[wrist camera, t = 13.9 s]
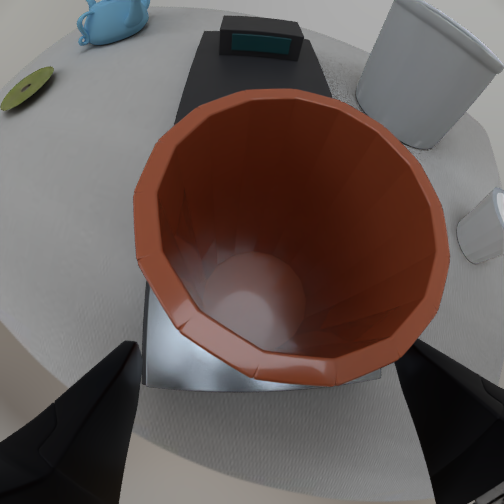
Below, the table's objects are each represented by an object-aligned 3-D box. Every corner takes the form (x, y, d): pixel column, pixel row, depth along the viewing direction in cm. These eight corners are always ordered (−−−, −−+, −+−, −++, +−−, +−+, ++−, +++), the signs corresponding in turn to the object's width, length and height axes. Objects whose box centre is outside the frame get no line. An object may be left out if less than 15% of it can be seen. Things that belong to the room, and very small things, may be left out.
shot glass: (451, 253, 23) (496, 226, 16) (453, 205, 25) (489, 174, 19) (486, 278, 22) (528, 258, 16) (486, 231, 25) (521, 207, 18)
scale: (365, 375, 18) (415, 378, 12) (151, 380, 17) (118, 392, 11) (306, 51, 34) (314, 19, 28) (204, 43, 32) (204, 10, 26)
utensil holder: (440, 119, 32) (490, 47, 16) (439, 174, 27) (520, 82, 10) (363, 71, 33) (399, -13, 17) (340, 111, 28) (391, -11, 12)
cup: (330, 314, 16) (480, 243, 5) (240, 382, 15) (281, 463, 3) (265, 229, 18) (317, 70, 7) (174, 286, 16) (89, 159, 5)
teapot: (73, 59, 31) (60, 17, 21) (94, 30, 35) (86, -5, 26) (148, 38, 33) (142, -9, 23) (157, 15, 38) (154, -23, 28)
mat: (21, 85, 28) (17, 78, 26) (65, 67, 30) (62, 59, 28) (-5, 125, 24) (-10, 118, 22) (40, 105, 26) (36, 96, 24)
